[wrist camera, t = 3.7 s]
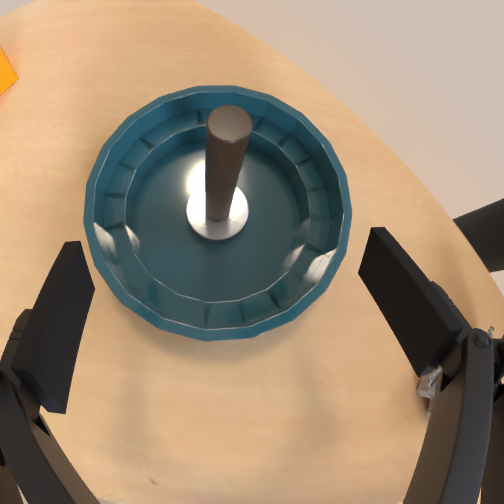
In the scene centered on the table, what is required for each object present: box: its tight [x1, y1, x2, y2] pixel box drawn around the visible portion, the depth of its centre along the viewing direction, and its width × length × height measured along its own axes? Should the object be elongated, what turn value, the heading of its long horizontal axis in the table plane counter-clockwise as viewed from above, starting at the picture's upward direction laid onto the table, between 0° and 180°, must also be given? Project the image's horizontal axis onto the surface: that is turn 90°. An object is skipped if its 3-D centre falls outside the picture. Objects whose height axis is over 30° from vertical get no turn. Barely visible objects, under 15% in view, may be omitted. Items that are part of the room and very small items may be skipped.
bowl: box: [84, 86, 352, 341], centre depth 24 cm, size 20×20×6 cm
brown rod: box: [186, 105, 253, 244], centre depth 19 cm, size 5×5×14 cm
